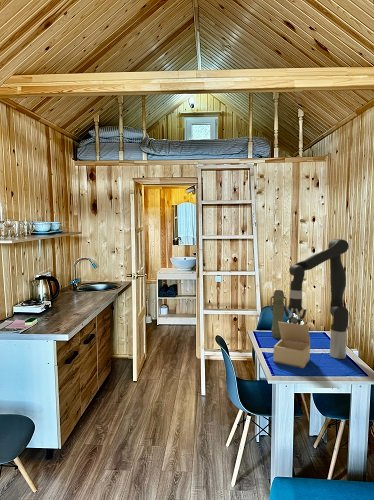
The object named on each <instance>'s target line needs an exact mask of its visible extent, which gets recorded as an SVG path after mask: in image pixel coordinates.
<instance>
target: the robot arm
mask: <svg viewBox="0 0 374 500" xmlns="http://www.w3.org/2000/svg"><path fill="white" fill-rule="evenodd" d="M349 245H350V244H349V242H348V241H347V240H345V239H342V238H334V239H331V240H330V241H329V243H328V248H327V249H325V250H321V251H320V252H317V253H315V254H312V255H310V256H309V257H307V258H305V259H303V260H302V261H298V262H296V263H293V264H292V265H291V266H290V268H289V269H288V270H289V271H288V272H289V274H290V275H291V276H293V279H292V280H291V281H290V286H289V289H290V290H289V294H288V295H289V296H288V297H289V298H288V299H289V300H288V302H289V303H288V304H289V305H287V307H285V306H284V310H285V311H284V315H285V317H287V318H288V323H292V322H291V319H292V318H293V317H292V316H293V314H295V315H296V316H297V318H298V323H297V324H300V325H302V320H303V319H305V316H306V314H307V311H308V310H307V308H306V309H305V308H303V306H302V305H303V282H304V279H305V273H306V271H310V270H312V269H314V268H316V267H318V266H319V265H321V264H323V263H325V262H326V261H328V260H329V266H330V267H329V268H330V270H329V271H330V273H329V274H330V277H329V278H330V279H329V280H330V281H329V282H330V305H329V306H330V307H329V312H330V315H331V316H332V317H333V318H332V321H333V322H332V324H331V326H330V344H329V345H330V346H329V356H330V357H332V358H334V359H339V360H340V359H343V360H345V359H346V357H347V330H348V325H349V316H350V315H349V313H350V312H349V309H348V308H347V307H345V306H344V301H343V299H344V293H345V289H346V287H347V286H346V285H347V274H346V270H345V267H344V265H343V263H342V255H343V254H345V253H346V252H348V250H349V247H350V246H349ZM289 311H290V312H289ZM301 311H302V315H301Z"/></svg>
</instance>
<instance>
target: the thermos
mask: <svg viewBox="0 0 374 500" xmlns="http://www.w3.org/2000/svg"><path fill="white" fill-rule="evenodd" d="M269 299H270V300H269V301H270V303H269V307H270V308H269V309H270V311H271V314H272V326H271V337H272V338H274V339H281V334H280V330H279V325H278V321H280V322H284V315H285V310H284V307H288V302H287V301H288V298H287V297H286V296H285V293H284V291H283V290H281V289H276V290H274V292H273V295H272V296H271V297H270V298H269Z"/></svg>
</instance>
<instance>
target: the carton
mask: <svg viewBox="0 0 374 500" xmlns="http://www.w3.org/2000/svg"><path fill="white" fill-rule="evenodd" d="M310 352H311V343H310V344H307V343H302V342H296V341H290V340H284V339H281V338H280V339H279V341H278V342H277V343H275V345H274V346H273V363H276V364H281V365H285V366H291V367H295V368H300V369H304V368H305V367H306V365H307V364H308V363H309V362H310V357H311V356H310V355H311V353H310Z"/></svg>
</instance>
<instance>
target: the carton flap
mask: <svg viewBox="0 0 374 500" xmlns="http://www.w3.org/2000/svg"><path fill="white" fill-rule="evenodd" d="M291 318H292V319H291V322H292V323H289V322H286V321H283V322H280V321H278V325H279V330H280V334H281V338H280V340H281V339H283V340H289V341H295V342H301V343H307V344H310V345H311V338H310V332H309V325H305V324H298V317H295V316H293V317H291Z"/></svg>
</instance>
